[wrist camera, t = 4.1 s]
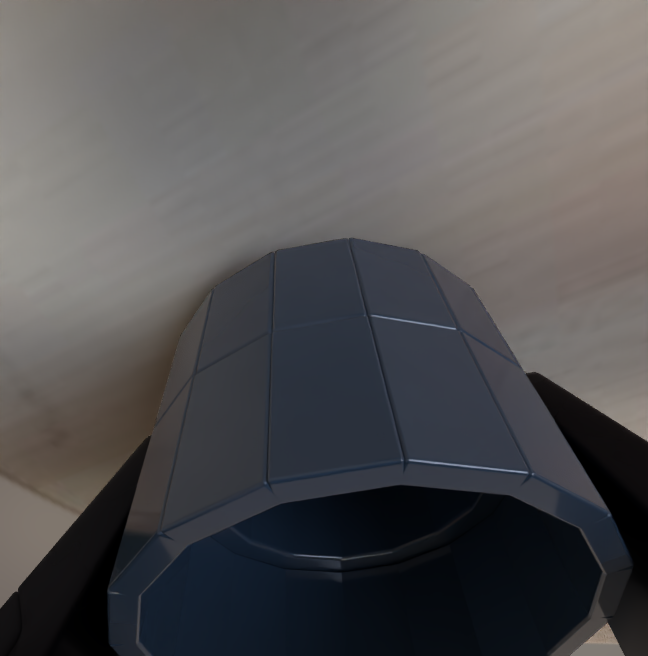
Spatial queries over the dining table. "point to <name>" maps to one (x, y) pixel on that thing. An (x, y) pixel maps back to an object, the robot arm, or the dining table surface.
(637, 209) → the dining table surface
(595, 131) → the dining table surface
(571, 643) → the blue cup
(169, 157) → the dining table surface
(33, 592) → the robot arm
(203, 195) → the dining table surface
